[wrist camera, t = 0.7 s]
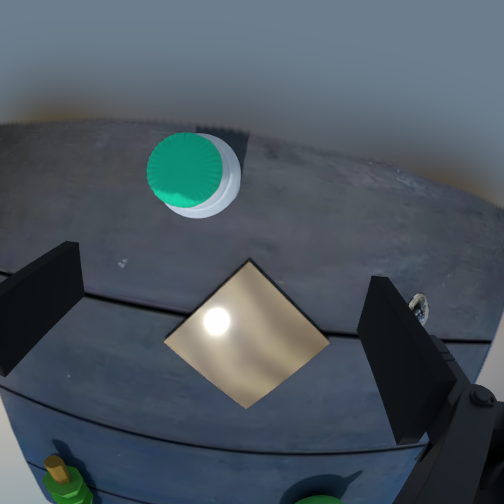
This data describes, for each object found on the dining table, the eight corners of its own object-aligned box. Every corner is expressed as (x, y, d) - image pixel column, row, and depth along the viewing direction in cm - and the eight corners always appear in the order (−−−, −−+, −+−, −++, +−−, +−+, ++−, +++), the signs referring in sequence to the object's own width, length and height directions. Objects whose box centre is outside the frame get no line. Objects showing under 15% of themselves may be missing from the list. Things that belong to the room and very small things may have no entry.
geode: (388, 333, 48) (393, 337, 46) (405, 288, 46) (411, 291, 44) (417, 338, 48) (423, 343, 46) (434, 296, 47) (440, 300, 45)
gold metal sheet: (249, 259, 44) (249, 261, 43) (328, 339, 47) (330, 342, 46) (164, 338, 46) (163, 341, 45) (246, 405, 49) (246, 409, 48)
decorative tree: (50, 485, 39) (98, 548, 43) (83, 459, 50) (121, 526, 54) (22, 460, 43) (69, 528, 47) (54, 439, 53) (92, 508, 58)
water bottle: (205, 148, 41) (163, 92, 17) (250, 173, 42) (264, 146, 18) (179, 192, 42) (106, 192, 18) (223, 217, 43) (202, 250, 19)
